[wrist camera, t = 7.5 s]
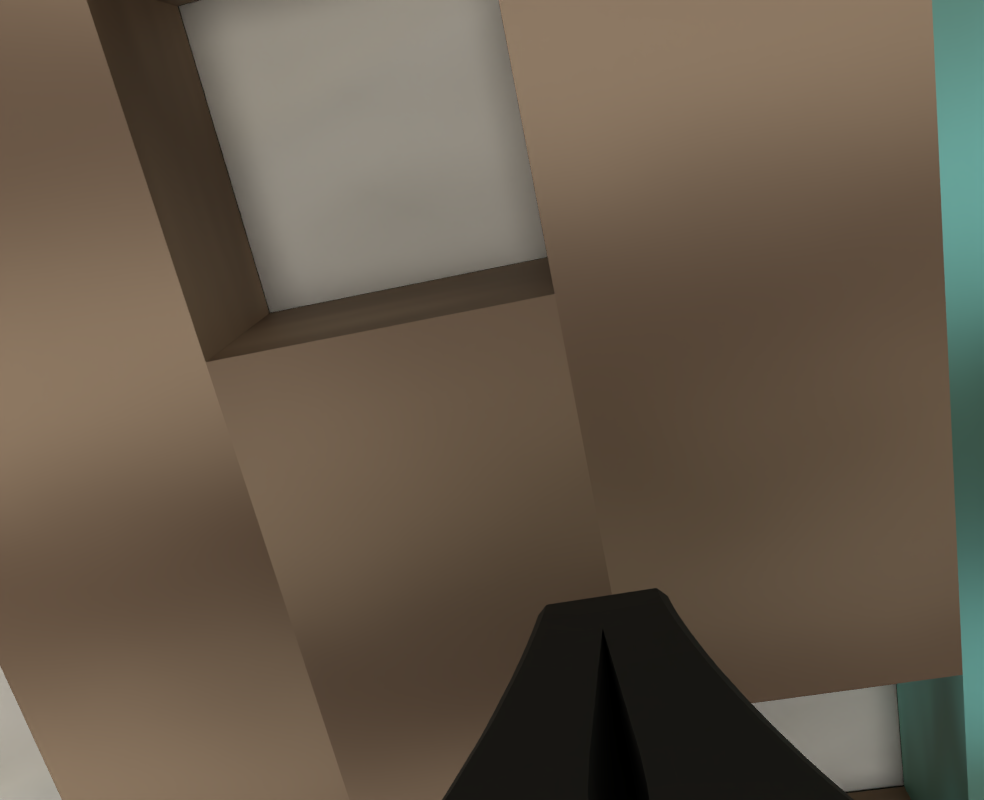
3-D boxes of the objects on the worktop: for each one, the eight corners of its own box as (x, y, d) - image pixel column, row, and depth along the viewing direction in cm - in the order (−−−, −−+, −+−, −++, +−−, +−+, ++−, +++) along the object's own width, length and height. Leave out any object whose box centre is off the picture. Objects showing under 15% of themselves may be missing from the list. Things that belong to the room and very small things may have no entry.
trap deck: (1275, 761, 17) (1604, 1057, 12) (218, 886, 19) (100, 1172, 14) (1378, -339, 11) (2097, -717, 6) (-122, 44, 14) (-519, 10, 9)
